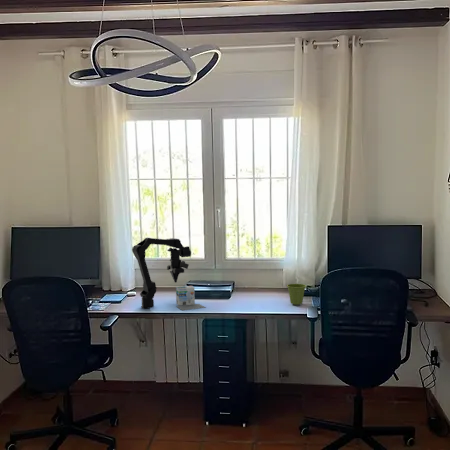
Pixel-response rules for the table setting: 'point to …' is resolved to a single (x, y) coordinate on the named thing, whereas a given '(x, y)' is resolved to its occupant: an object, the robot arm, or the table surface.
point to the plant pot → (296, 293)
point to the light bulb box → (185, 295)
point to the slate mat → (190, 307)
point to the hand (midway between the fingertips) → (175, 282)
